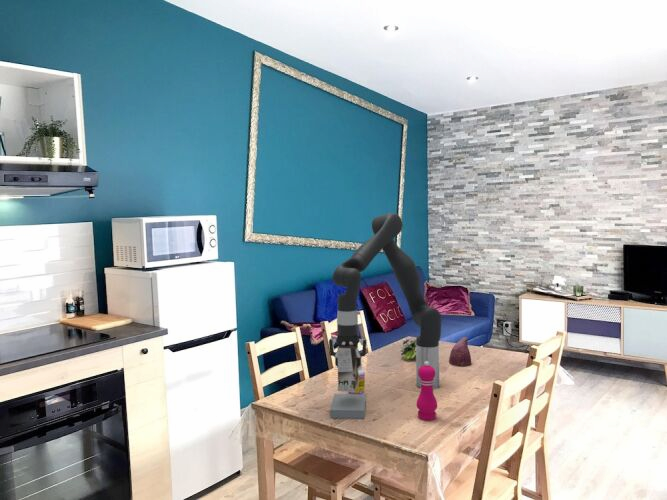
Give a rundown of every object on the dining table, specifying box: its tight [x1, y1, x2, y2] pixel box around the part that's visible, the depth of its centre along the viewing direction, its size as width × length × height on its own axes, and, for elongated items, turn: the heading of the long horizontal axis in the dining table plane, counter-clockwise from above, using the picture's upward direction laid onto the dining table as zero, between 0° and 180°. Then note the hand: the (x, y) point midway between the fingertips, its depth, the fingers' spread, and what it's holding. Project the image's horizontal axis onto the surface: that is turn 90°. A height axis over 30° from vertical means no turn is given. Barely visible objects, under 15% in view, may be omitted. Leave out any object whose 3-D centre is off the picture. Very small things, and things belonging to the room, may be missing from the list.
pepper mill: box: [416, 361, 438, 421], centre depth 178 cm, size 7×7×20 cm
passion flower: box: [400, 339, 416, 361], centre depth 251 cm, size 11×11×12 cm
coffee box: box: [337, 343, 359, 393], centre depth 186 cm, size 9×6×16 cm
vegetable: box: [448, 336, 472, 368], centre depth 241 cm, size 10×10×15 cm
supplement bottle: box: [347, 361, 366, 394], centre depth 202 cm, size 7×7×13 cm
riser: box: [329, 393, 367, 420], centre depth 187 cm, size 12×16×3 cm
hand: (348, 366), depth 186 cm, fingers closed on coffee box, 6 cm apart
